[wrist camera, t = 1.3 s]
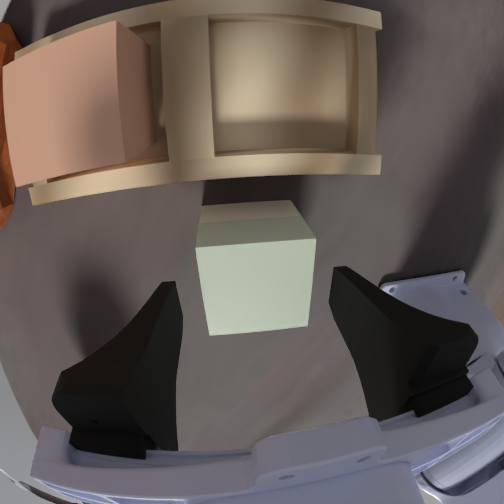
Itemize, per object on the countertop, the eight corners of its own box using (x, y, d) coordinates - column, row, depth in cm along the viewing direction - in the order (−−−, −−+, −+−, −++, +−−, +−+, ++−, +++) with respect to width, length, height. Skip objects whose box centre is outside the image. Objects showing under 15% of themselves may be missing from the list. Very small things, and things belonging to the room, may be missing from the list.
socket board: (357, 19, 11) (380, 9, 9) (357, 166, 16) (379, 178, 13) (40, 52, 10) (14, 49, 8) (56, 192, 14) (33, 209, 12)
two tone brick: (290, 199, 16) (316, 238, 12) (288, 273, 19) (307, 325, 15) (201, 205, 16) (195, 247, 12) (210, 279, 18) (209, 335, 14)
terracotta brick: (150, 45, 10) (116, 20, 6) (156, 141, 13) (125, 162, 8) (61, 69, 10) (2, 66, 6) (69, 158, 12) (16, 187, 8)
